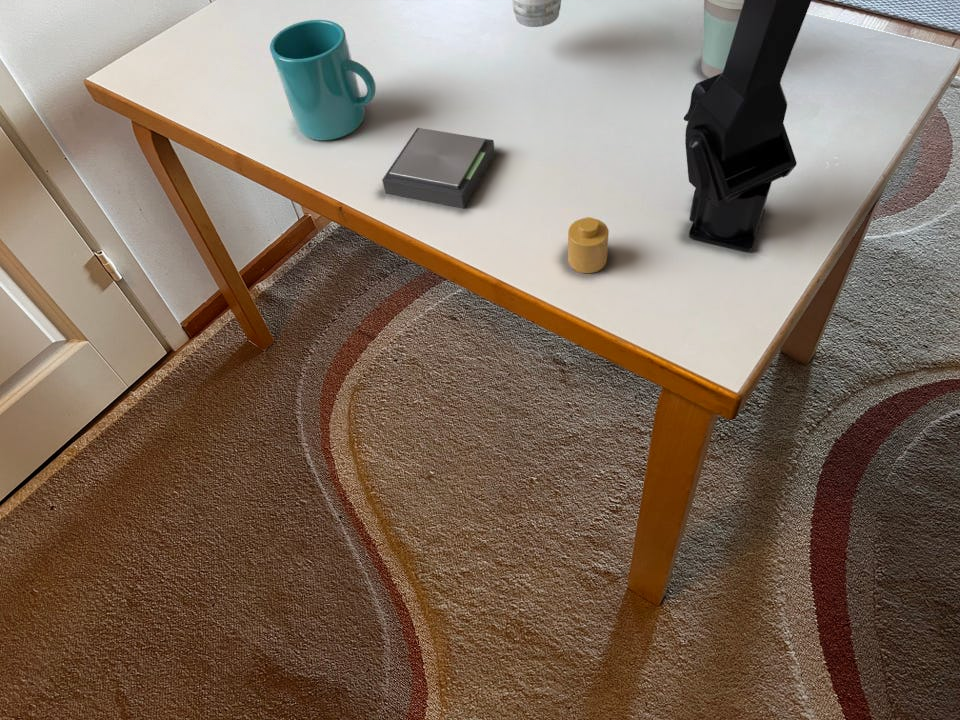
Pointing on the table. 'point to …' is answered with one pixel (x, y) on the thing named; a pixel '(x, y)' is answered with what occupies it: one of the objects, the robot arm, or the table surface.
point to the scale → (439, 167)
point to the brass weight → (587, 245)
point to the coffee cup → (718, 33)
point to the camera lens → (536, 12)
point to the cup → (321, 79)
